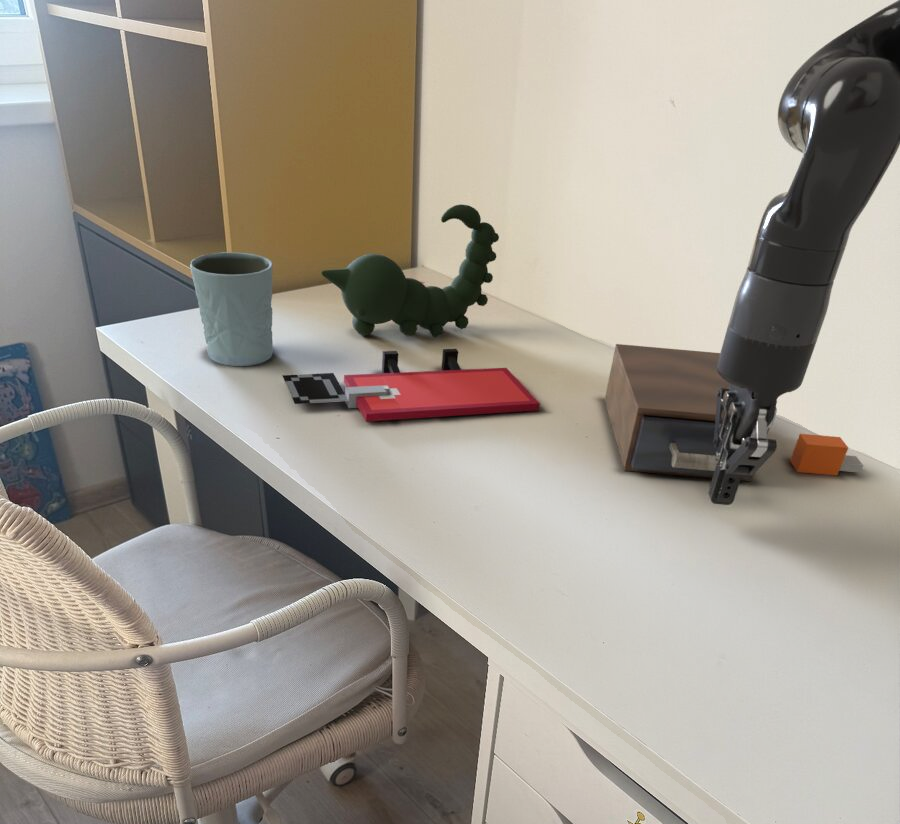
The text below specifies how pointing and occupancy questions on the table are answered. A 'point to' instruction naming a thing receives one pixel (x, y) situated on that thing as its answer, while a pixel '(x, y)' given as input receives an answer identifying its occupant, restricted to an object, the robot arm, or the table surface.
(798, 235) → the robot arm
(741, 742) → the table surface
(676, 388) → the cabinet
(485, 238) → the toy figurine
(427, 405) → the red board with handle
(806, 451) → the orange and grey block
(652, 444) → the drawer
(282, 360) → the table surface
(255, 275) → the pale green cup
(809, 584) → the table surface
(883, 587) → the table surface
